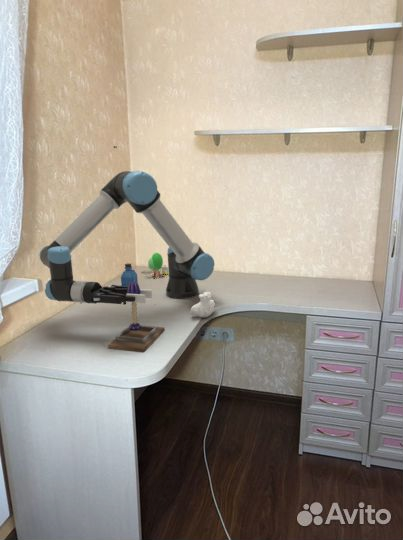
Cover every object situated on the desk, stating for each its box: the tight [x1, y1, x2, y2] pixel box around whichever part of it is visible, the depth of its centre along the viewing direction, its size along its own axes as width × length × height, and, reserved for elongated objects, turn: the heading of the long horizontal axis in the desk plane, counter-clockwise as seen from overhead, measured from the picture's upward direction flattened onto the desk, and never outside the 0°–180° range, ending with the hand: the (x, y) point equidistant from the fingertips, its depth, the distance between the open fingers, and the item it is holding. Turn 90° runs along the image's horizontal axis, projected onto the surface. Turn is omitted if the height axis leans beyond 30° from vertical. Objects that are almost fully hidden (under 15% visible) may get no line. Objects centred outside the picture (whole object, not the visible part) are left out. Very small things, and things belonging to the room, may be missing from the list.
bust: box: [189, 291, 216, 318], centre depth 160 cm, size 12×8×11 cm
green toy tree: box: [147, 252, 169, 280], centre depth 220 cm, size 15×14×14 cm
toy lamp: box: [127, 281, 141, 331], centre depth 139 cm, size 5×5×17 cm
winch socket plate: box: [107, 324, 165, 353], centre depth 142 cm, size 18×13×3 cm
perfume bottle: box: [120, 263, 139, 286], centre depth 200 cm, size 6×6×12 cm
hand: (148, 296), depth 136 cm, fingers closed on toy lamp, 5 cm apart
